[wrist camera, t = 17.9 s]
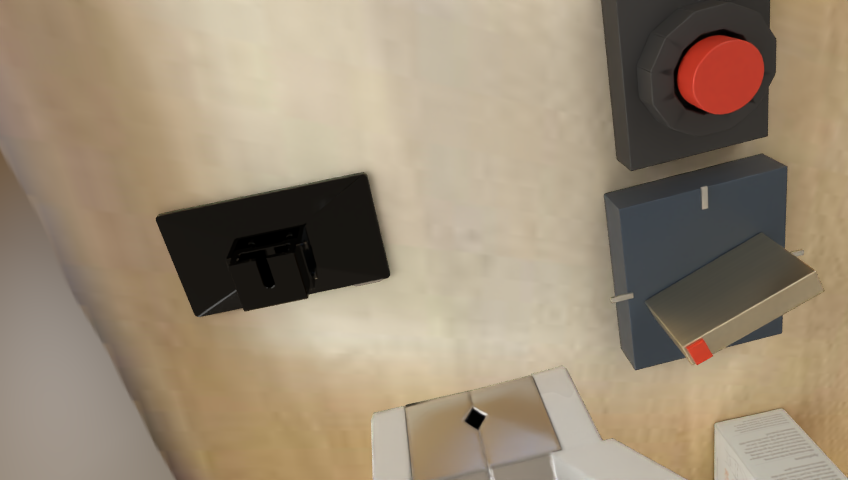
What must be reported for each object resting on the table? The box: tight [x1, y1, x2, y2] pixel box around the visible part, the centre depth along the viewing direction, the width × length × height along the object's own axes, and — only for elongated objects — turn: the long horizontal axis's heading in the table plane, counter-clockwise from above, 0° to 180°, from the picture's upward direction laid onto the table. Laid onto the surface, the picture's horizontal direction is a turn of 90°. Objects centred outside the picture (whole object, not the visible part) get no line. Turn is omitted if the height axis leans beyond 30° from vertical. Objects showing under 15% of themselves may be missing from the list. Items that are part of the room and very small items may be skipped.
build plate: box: [156, 172, 390, 317], centre depth 36 cm, size 12×7×5 cm, turn 100°
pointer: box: [645, 232, 824, 365], centre depth 36 cm, size 8×2×5 cm, turn 124°
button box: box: [601, 0, 776, 171], centre depth 33 cm, size 10×8×4 cm
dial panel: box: [604, 154, 804, 370], centre depth 40 cm, size 12×12×3 cm
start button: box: [677, 35, 764, 114], centre depth 31 cm, size 4×4×2 cm
